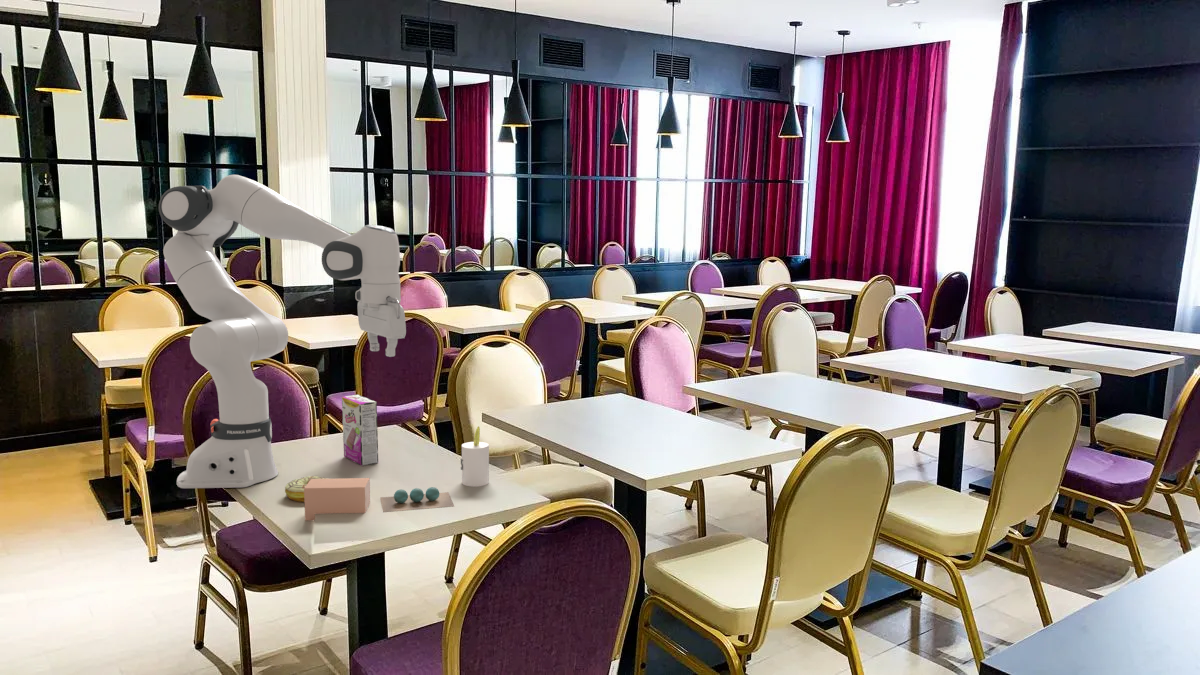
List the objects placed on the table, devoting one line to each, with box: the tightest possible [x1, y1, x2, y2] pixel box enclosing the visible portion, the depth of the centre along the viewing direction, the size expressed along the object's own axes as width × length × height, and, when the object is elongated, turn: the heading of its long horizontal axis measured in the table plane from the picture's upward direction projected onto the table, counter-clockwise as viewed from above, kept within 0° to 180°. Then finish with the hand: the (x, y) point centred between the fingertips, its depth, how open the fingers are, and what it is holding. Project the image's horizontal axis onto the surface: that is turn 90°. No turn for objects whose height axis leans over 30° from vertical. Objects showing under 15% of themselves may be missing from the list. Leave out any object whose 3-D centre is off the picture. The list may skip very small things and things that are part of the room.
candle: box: [460, 426, 490, 487], centre depth 208 cm, size 6×6×15 cm
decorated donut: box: [284, 475, 328, 503], centre depth 202 cm, size 10×11×4 cm
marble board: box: [379, 486, 455, 513], centre depth 194 cm, size 15×10×4 cm, turn 107°
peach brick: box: [304, 477, 371, 522], centre depth 190 cm, size 12×7×7 cm, turn 96°
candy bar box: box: [341, 394, 379, 467], centre depth 230 cm, size 11×5×16 cm, turn 40°
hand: (382, 353), depth 210 cm, fingers open, 8 cm apart
